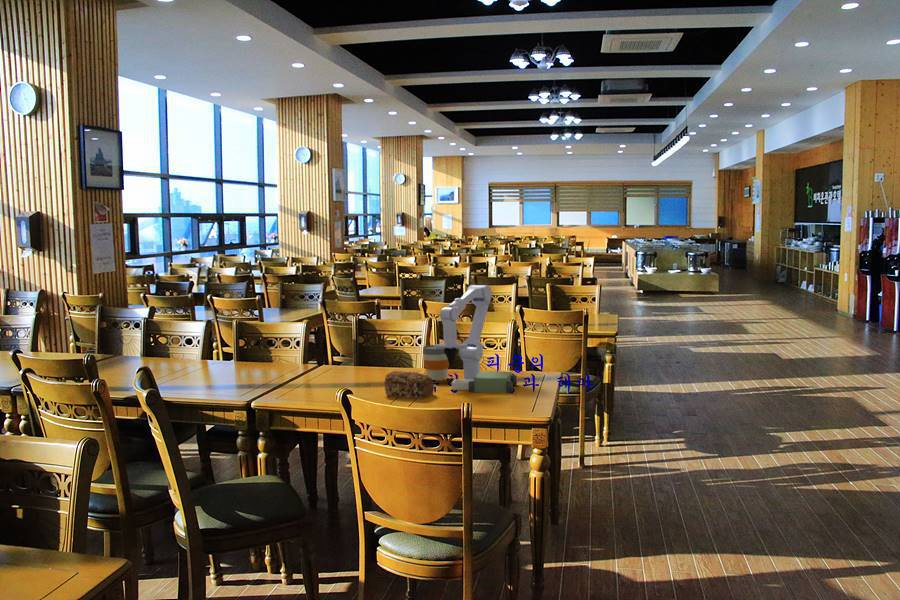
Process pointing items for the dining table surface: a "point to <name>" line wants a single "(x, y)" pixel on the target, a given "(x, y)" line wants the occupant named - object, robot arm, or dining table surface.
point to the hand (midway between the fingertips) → (451, 365)
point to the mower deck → (493, 382)
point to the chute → (460, 384)
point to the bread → (408, 385)
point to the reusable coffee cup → (435, 362)
